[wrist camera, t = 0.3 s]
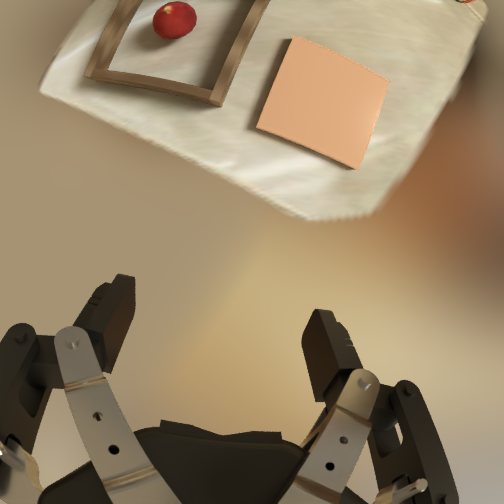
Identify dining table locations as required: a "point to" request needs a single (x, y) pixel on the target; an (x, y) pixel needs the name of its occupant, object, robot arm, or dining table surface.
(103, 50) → the brown wooden square tray
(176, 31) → the onion
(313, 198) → the dining table surface
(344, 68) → the terracotta tile
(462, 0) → the soda can
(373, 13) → the dining table surface
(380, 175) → the dining table surface
